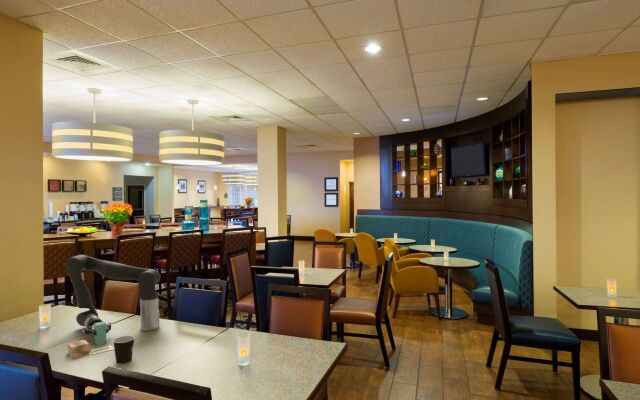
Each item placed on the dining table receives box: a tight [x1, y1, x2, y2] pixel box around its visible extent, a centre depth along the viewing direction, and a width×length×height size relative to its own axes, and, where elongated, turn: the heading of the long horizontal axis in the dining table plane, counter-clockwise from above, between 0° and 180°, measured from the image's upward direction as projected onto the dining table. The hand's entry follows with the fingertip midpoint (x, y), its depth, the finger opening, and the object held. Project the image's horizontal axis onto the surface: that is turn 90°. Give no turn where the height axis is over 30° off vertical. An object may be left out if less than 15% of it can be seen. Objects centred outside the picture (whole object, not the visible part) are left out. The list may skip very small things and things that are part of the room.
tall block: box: [93, 320, 107, 346], centre depth 195 cm, size 4×4×10 cm
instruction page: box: [89, 344, 115, 355], centre depth 186 cm, size 9×7×1 cm
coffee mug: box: [112, 335, 135, 365], centre depth 175 cm, size 12×9×10 cm
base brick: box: [67, 339, 90, 359], centre depth 182 cm, size 7×7×5 cm
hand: (101, 332), depth 193 cm, fingers closed on tall block, 4 cm apart
